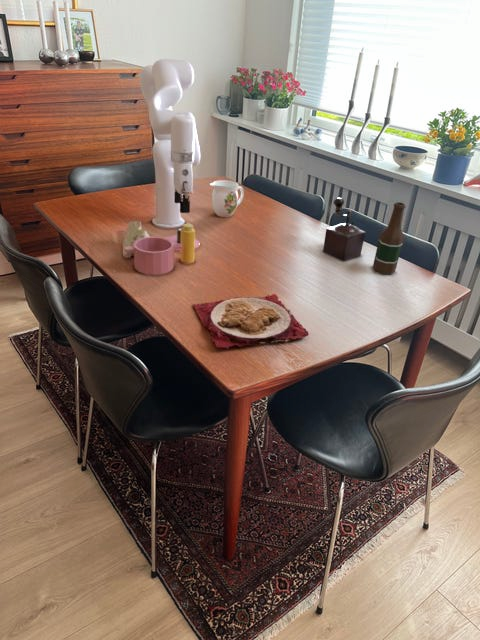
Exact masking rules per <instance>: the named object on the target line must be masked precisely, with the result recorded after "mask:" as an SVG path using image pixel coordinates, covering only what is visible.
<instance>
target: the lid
mask: <svg viewBox="0 0 480 640" xmlns="http://www.w3.org/2000/svg"><path fill="white" fill-rule="evenodd" d="M181 228H182V227H178V228H177V229H176V234H175V235H174V234H173V235H169V236H166V237H164V238H165V239H169V240H170V241H172V242H173V244H181ZM200 244H201V243H200V241H199V240H198V239H197V238H196V237H195V246H194V250H196V249H198V248H199V247H200ZM174 252H181V249H177V250H174Z"/></svg>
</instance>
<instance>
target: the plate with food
mask: <svg viewBox="0 0 480 640" xmlns="http://www.w3.org/2000/svg"><path fill="white" fill-rule="evenodd" d="M192 307H193V308H194V310H195V311H196V313H197V316H198V317H199V319H200V321H201V323H202V325H203V327H204V328H206V329H208V330H209V331H210V334H209V337H210V340H211V341H212V343H214V344H215V347H216V348H221V349H223V348H226V349H229V348H230V347H234V346H237V347H238V348H243V347H244V346H247V345H248V346H249V345H257V344H262V345H263V344H266V342H265V341H259V340H262V339H269V338H274V340H272V341H271V342H270V343H271V344H275V345H276V344H277V343H278V342H283V343H284V342H285V343H286V342H287V343H288V342H290V341H294V340H296V339H301V338H302V339H303V338H305V337H308V336H309V335H310V333H309V331H308V330H306V328H305V327H304V326H303V325H302V324H301V322H299V321H298V320H297V319H296V317H294V314H290V311H291V310H290V309H287V308H286V306H285V304H283V303H282V300H279V297H278V295H277V294H275V293H273V294H268V295H266V296H265V297H253V296H250V297H249V296H248V297H243V296H241V297H240V296H235V297H233V298H227V299H223V300H222V299H220V300H216V301H214V302H205V303H201V304H199V303H198V304H192Z"/></svg>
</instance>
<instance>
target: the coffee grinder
mask: <svg viewBox="0 0 480 640" xmlns="http://www.w3.org/2000/svg"><path fill="white" fill-rule="evenodd" d="M344 204H345V200H344V199H343V197H337V198H335V199H334V200H333V205H334V206H335V209H334V215H335V216H337V217H340V218H341V217H342V218H346V220H345V222H344V223H339V224H336V225H332V226H329V227H326V229H325V235H324V240H323V241H324V242H323V247H322V252H323V253H325V254H326V255H328V256H329V257H330V256H331V257H332V258H334V259H337V260H339V261H341V262H346V261H349V260H352V259H356V258H358V257H361V255H362V250H363V245H364V241H365V236H366V231H364V230H362V229H360V228H359V227H357V226H355V225H354V224H355V223H354V222H351V223H349V222H350V217H352V215H351V213H352V211H351V210H347V213H346V214H343V213H340V212H342V211H343V210H344V209H343V206H344Z"/></svg>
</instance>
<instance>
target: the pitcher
mask: <svg viewBox="0 0 480 640" xmlns="http://www.w3.org/2000/svg"><path fill="white" fill-rule="evenodd" d="M209 186H210V187H212V188H213V190H212V194H211V205H212V209H213V211H214V214H215V215H216V216H218V217H221V218H230V217H232V216H233V215H234V214H235V212H236V210H237V207H238V206H239V205H240V204H241V203H242V202H243V199H244V196H245V191H244V188H243V187H242V186H240V185H239V183H238V182H236V181H233V180H230V179H229V180H228V179H219V180H214V181H213V182H211V183H209ZM238 191H240V197H239V192H238Z"/></svg>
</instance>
